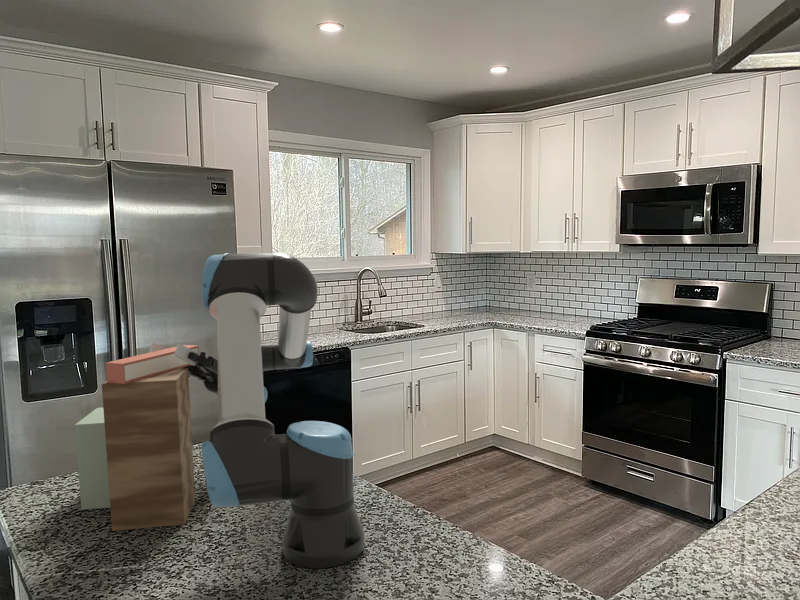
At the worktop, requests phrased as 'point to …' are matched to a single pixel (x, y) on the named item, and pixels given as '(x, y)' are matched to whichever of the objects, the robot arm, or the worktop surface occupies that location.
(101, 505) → the sage step
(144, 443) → the walnut block
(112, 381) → the salmon pink bar
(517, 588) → the worktop surface
